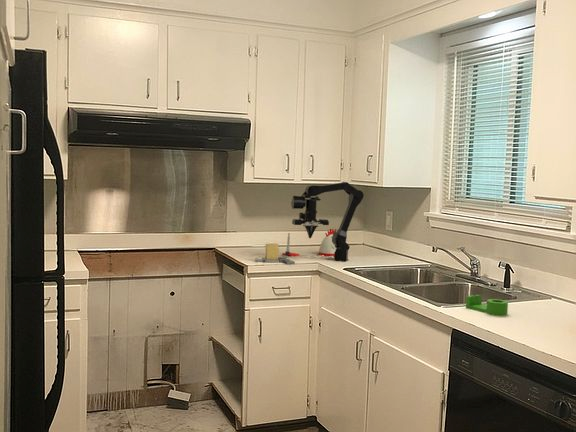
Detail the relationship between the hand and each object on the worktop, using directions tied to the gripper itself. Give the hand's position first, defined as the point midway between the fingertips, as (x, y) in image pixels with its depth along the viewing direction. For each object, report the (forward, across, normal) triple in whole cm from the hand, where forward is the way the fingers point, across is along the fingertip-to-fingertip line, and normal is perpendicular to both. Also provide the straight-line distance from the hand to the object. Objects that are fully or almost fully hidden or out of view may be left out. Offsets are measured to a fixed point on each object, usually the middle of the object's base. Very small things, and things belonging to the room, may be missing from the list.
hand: (309, 238), depth 335 cm
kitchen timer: (+12, -19, -21) cm, 31 cm away
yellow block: (+12, +21, 0) cm, 24 cm away
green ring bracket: (+12, -31, +119) cm, 124 cm away
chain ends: (+12, +20, +3) cm, 24 cm away
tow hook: (+12, +4, -20) cm, 24 cm away
